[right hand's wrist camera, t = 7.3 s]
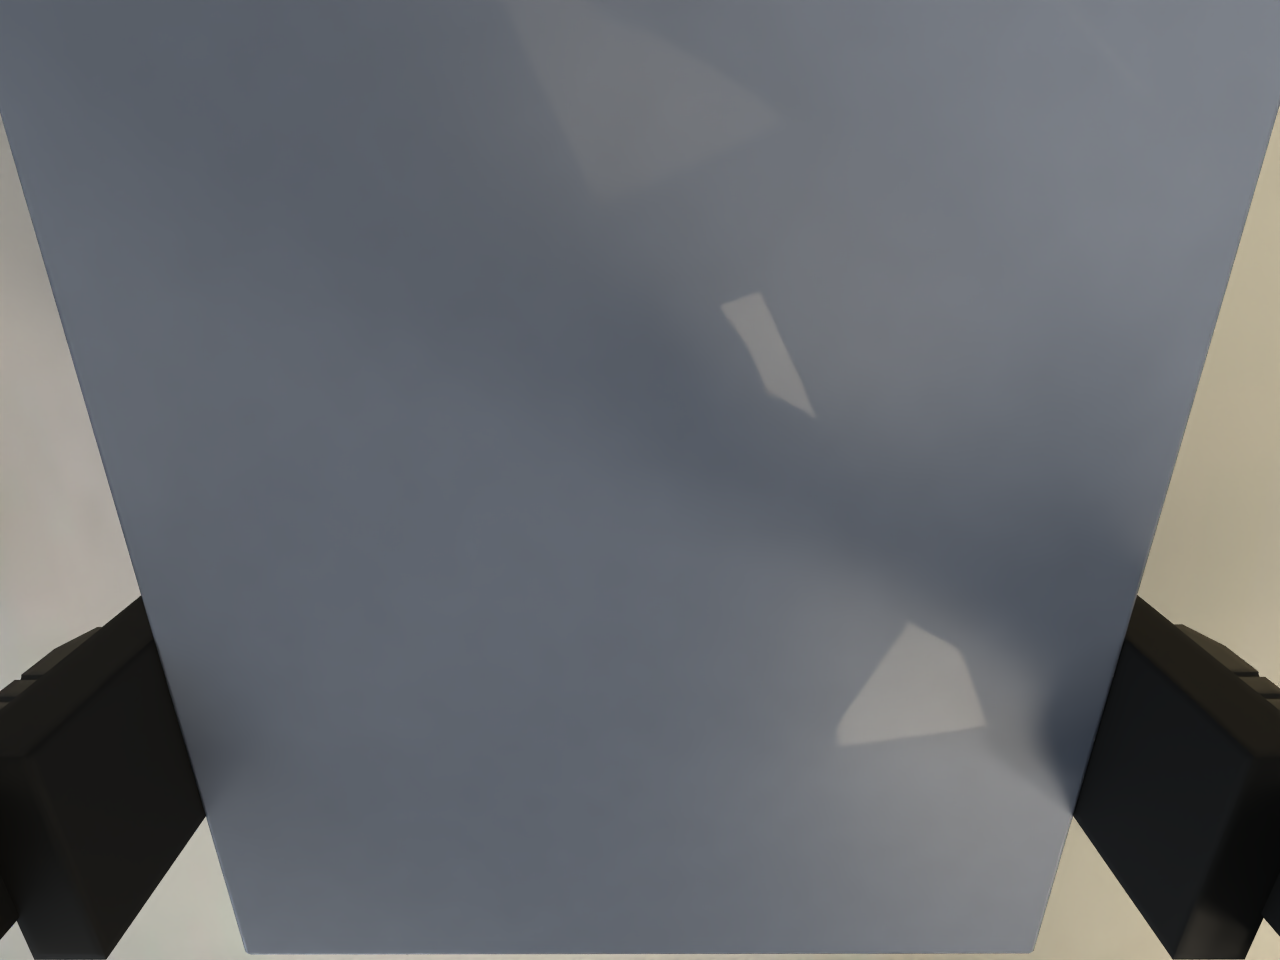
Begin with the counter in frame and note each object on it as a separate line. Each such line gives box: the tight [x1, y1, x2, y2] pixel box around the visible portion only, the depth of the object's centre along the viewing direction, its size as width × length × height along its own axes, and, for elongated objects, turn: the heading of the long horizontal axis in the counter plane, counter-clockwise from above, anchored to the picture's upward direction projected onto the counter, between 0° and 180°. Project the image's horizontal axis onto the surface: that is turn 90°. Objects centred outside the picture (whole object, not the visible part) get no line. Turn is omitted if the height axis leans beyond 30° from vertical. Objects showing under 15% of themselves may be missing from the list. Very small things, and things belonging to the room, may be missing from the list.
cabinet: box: [0, 0, 1280, 954], centre depth 12 cm, size 16×11×11 cm
